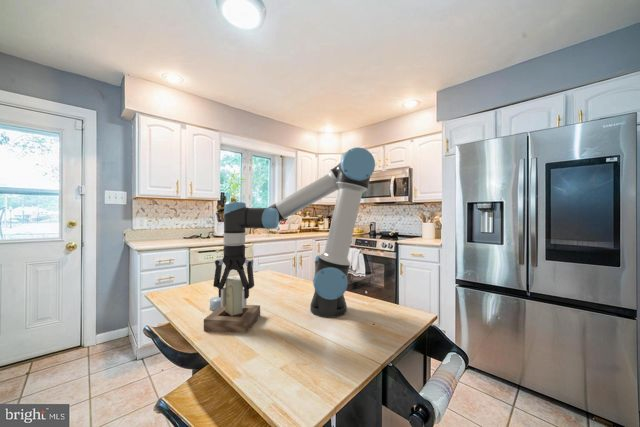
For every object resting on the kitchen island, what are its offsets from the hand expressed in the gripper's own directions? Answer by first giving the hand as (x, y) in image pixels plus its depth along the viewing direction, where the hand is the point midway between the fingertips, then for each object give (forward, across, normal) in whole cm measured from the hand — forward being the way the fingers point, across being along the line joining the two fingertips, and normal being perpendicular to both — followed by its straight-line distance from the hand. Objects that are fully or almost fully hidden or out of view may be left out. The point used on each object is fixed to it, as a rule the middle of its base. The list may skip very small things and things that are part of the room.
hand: (233, 306), depth 97 cm
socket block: (+6, 0, 0) cm, 6 cm away
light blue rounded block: (+6, +12, -13) cm, 19 cm away
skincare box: (+2, 0, 0) cm, 2 cm away
